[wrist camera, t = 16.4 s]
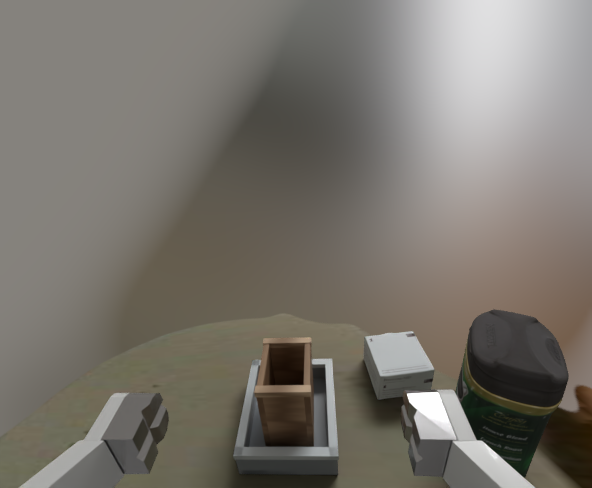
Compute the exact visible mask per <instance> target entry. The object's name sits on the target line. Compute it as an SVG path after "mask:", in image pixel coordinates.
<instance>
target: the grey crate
mask: <svg viewBox="0 0 592 488" xmlns="http://www.w3.org/2000/svg"><path fill="white" fill-rule="evenodd" d="M260 363H261V360H253V361H252V366H251V371H250V376H249V381H248V386H247V391H246V396H245V400H244V405H243V410H242V415H241V420H240V425H239V430H238V435H237V440H236V445H235V450H234V454H233V457H234V459H235V460H236V463H237V467H238V470H239V474H290V475H338V460H339V458H338V442H337V427H336V412H335V397H334V382H333V368H332V359H312V370H313V385H314V446H266V445H265V440H264V435H263V430H262V424H261V419H260V414H259V409H258V404H257V399H256V397H255V394H254V391H255V386H257V380H258V374H259V369H260Z"/></svg>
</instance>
